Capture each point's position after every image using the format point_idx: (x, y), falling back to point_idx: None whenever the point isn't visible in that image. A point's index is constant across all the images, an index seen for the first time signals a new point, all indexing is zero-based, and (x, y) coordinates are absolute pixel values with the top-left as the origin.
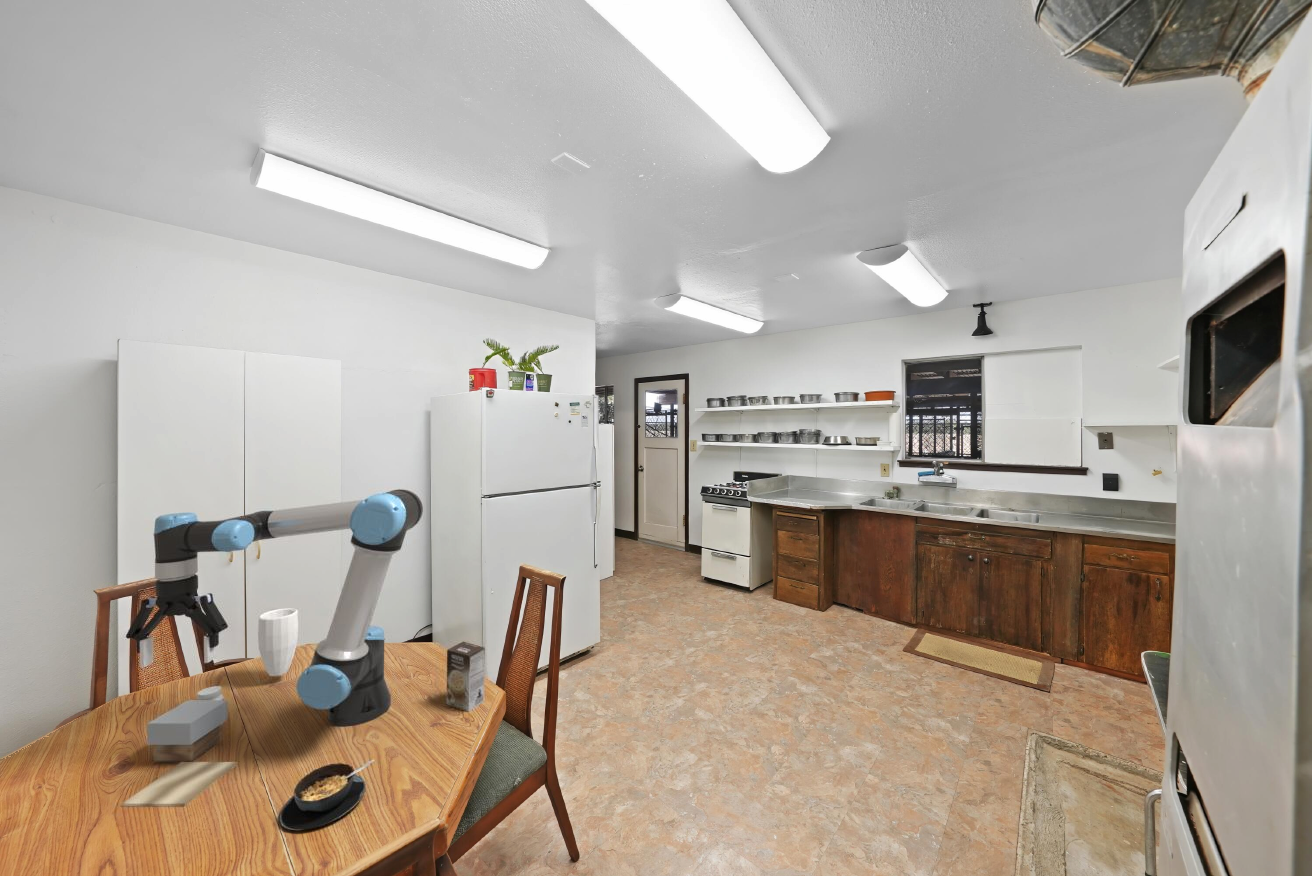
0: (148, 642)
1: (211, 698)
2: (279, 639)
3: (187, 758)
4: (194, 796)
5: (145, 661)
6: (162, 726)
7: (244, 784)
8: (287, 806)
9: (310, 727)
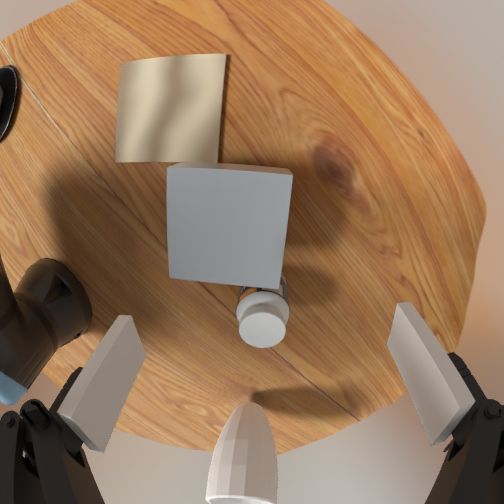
0: (434, 410)
1: (247, 310)
2: (223, 457)
3: None
4: (120, 78)
5: (404, 326)
6: (247, 169)
7: (77, 117)
8: (14, 89)
9: (86, 262)
